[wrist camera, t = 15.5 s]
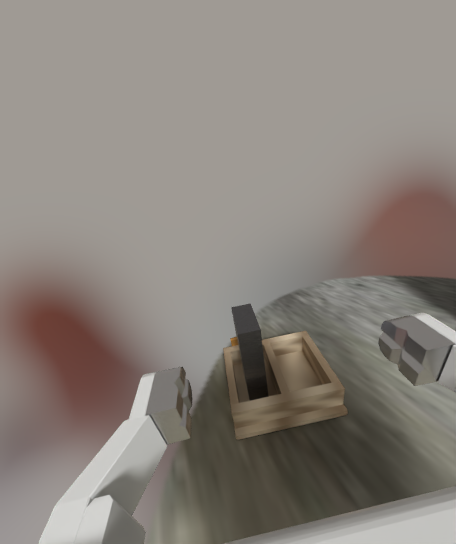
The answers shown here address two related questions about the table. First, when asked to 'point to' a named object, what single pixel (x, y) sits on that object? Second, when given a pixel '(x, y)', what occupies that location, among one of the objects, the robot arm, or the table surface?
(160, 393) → the robot arm
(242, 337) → the block
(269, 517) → the table surface
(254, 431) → the wooden divided box
